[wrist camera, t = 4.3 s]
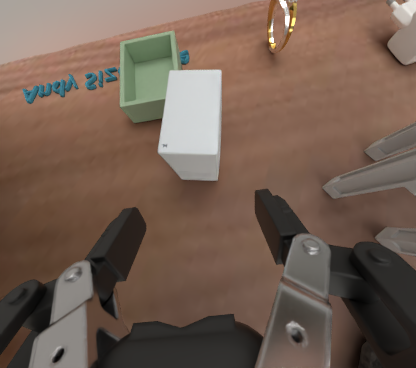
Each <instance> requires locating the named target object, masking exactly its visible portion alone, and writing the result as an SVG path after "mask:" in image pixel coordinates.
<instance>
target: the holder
mask: <svg viewBox="0 0 416 368" xmlns="http://www.w3.org/2000/svg"><path fill="white" fill-rule="evenodd" d="M170 70H182V65H181V59H180V52H179V48H178V44H177V40H176V36H175V32H174V31H169V32H164V33H160V34H155V35H150V36H146V37H141V38H136V39H132V40H127V41H123V42H120V108H121V109H122V110H123V111H124V112H125V113H126V114H127V115H128V117H129V118H130V119H131V120H132V121H133V122H134V123H139V122H145V121H150V120H156V119H161V118H163V113H164V105H165V98H166V91H167V84H168V75H169V71H170Z"/></svg>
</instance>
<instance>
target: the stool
mask: <svg viewBox="0 0 416 368" xmlns="http://www.w3.org/2000/svg"><path fill="white" fill-rule="evenodd" d="M413 147H416V122H414V123H412V124H410V125H408V126H406V127H404V128H402V129H400V130H398V131H396V132H394V133H392V134H390V135H388V136H386V137H384V138H382V139H380V140H378V141H376V142H374V143H373V144H371V145H370V146H369V147H368V148H367V149H366V150H364V152H365V153H366V154H367V155H369V156H370V157H371V158H372V159H374V160H375V161H378V160H381V159H383V158H386V157H389V156H392V155H394V154H397V153H400V152H402V151H405V150H408V149H411V148H413ZM399 187H405V188H406V189H407V190H409V191H410V192H411V193H412V194H414V195H415V196H416V149H413V150H410V151H407V152H405V153H402V154H399V155H396V156H393V157H391V158H388V159H385V160H382V161H379V162H377V163H374V164H371V165H368V166H365V167H363V168H360V169H357V170H354V171H351V172H349V173H346V174H343V175H340V176H337V177H335V178H332V179H331V180H330V181H329V182H328V183H326V184H325V185H324V186H323V187H322V188H323V189H324V190H325V191H326V192H327V193H328V194H329V195H330V196H331V197H332V198H333V199H335V198H340V197H346V196H352V195H358V194H364V193H370V192H375V191H381V190H387V189H393V188H399ZM375 239H376V240H377V241H378V242H380V243H381V244H382V245H383V246H385V247H387V248H389V249H390V250H392V251H393V252H396V253H401V254H406V255H411V256H416V229H415V228H396V227H385V228H384V229H383V230H382V231H381V232H380V233H379V234H378V235H377V236H376V237H375Z"/></svg>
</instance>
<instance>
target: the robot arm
mask: <svg viewBox="0 0 416 368" xmlns="http://www.w3.org/2000/svg"><path fill="white" fill-rule="evenodd" d="M255 214H256V217H257V220H258V222H259V225H260V227H261V229H262V232H263V234H264V236H265V239H266V241H267V243H268V246H269V248H270V251H271V253H272V255H273V258H274V260H275V262H276V265H277V264H283V265H284V267H285V268H284V271H283V275H282V278H281V280H280V283H279V286H278V289H277V293H276V296H275V300H274V303H273V307H272V310H271V313H270V317H269V320H268V324H267V327H266V331H265V334H264V337H263V336H262V335H260V334H259V333H258V332H257V331H255V330H254V329H253V328H251V327H249V326H248V325H245V324H243V323H241V322H237V321H235V319H234V314H228V315H217V316H208V317H206V318H203V319H201V320H199V321H197V322H194V323H192V324H190V325H188V326H185V327H183V328H179V327H176V326H172V325H169V324H165V323H162V322H158V321H154V322H143V323H133V326H132V329H131V333H129V330H128V328H127V327H126V325H125V323H124V321H123V317H122V312H121V308H120V303H119V299H118V294H117V290H116V288H115V285H116V282H120V281H126V279H127V276H128V274H129V271H130V269H131V266H132V264H133V261H134V259H135V257H136V254H137V252H138V249H139V247H140V244H141V242H142V240H143V237H144V235H145V232H146V223H145V221H144V219H143V217H142V215H141V214H140V212H139V210H138V208H136V207H133V208H126V209H123V210H122V212H121V213H120V215H119V216H118V217H117V218H116V219H114V220H113V221H112V222H111V223H110V224H109V226H108V227H107V228H106V230H105V232H104V233H103V234H102V235H101V237H100V238H99V240H98V241H97V243H96V244H95V245H94V247H93V248H92V250H91V251H90V252H89V254H88V255H87V257H86V258H85V260H83V261H79V262H77V263H75V264H73V265H71V266H70V267H69V268H67V269H66V270H65V271H64V272H63V273H62V274H61V275H60V277H59V278H58V279H55V280H53V281H50V282H48V283H46V284H42V283H40V282H39V281H37V280H29V281H27V282H24V283H22V284H21V285H19V286H17V287H16V288H15V289H13V290H12V291H11V292H9V293H8V294H7V295H6V296H5V297H4V298H3V299H2V300H1V301H0V355H1V354H2V352H3V351H4V350H5V348H6V347H7V345H8V344H9V343H10V341H11V340H12V339H13V337H14V336H15V335H16V333H17V332H18V330H19V329H20V328H21V326H23V327H25V328H28V329H30V330H32V331H31V332H30V334H29V335H28V337H27V338H26V340H25V341H24V343H23V344H22V346H21V347H20V349H19V350H18V352H17V353H16V354H15V356H14V357H13V359H12V360H11V362H10V363H9V365H8V366H7V368H330V353H331V330H332V306H331V304H330V303H329V301H328V294H331V295H335V296H339V297H341V298H342V300H343V302H344V303H345V305H346V307H347V308H348V310H349V312H350V313H351V315H352V316H353V318H354V320H355V321H356V323H357V325H358V326H359V328H360V330H361V331H362V333H363V335H364V336H365V338H366V339H367V341H368V343H369V344H370V346H371V348H372V349H373V351H374V353H375V354H376V356H377V357H378V359H379V361H380V362H381V364H382V366H383V367H384V368H416V271H415V270H414V269H413V268H412V267H411V266H410V265H409V264H408V263H407V262H405V261H404V260H403V259H402V258H401V257H400V256H399V255H397V254H396V253H395V252H393V251H392V250H390V249H389V248H387V247H385V246H382V245H380V244H377V243H373V242H359V243H357V244H356V245H355V246H354V248H346V247H339V246H333V245H329V244H327V243H326V242H325V241H323V240H322V239H321V238H319V237H317V236H315V235H312V234H310V233H309V232H308V231H307V229H306V228H305V227H304V225H303V224H302V223H301V221H300V220H299V218H298V217H297V216H296V214H295V213H294V212H293V210H292V209H291V208H290V207H289V205H288V204H287V202H286V201H285V200H284V199H282V198H281V197H279V196H278V195H276V196H272V194H271V193H270V191H269V190H268V189H262V190H256V191H255Z"/></svg>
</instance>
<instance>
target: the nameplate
mask: <svg viewBox="0 0 416 368" xmlns="http://www.w3.org/2000/svg"><path fill="white" fill-rule="evenodd" d="M188 54H189V53H188V50H184V51H182V52H180V59H181V64H186V63H188V62H189V55H188ZM115 71H117V69H116V68H115V67H113V68H109V69H105V73H107V74H108V75H109V76H111V77H108V78H105V80H106V82H110V81H114V80H117V78H116V77H115V76H114V75H113V74H111V72H115ZM118 73H119V75H120V67H119V69H118ZM68 75H69V77H70V78H69V80H68V82H67V85H66V87H65V81H64V80H61V82H59V81H55V82H53V84H52V85H51V84H50V83H47V86H46V91H45V92H44V86H43V85H39V86H34V88H33V90H31V91H27V90H26V89H23V92H24V95H25V98H26V101H27V102H28V103H30V104H31V103H33V101H34V99H35V97H36V95H37V93H38V95H39V96H40V97H43V96H44V95H46V96H49V95H50V94H51V88H52V89H53V91H54V92H55V93H60V96H61V97H65V90H66V91H70V89H71V87H72V84H73V85H74V87H75V88H76V89H78V86H77V84H76V82H75V80H74V78H73V76H72V75H71V74H68ZM85 76H86V78H87V79H88V78H90V77H92V78H90V79H89V80H88V81H87V82H86V83H85V85H86V87H87V89H90V90H93V89H96V85H94V84H93V83H94V82H95V81H96V80H97V77H96V75H95V74H94V73H87V74H85ZM102 83H103V73H102V71H99V86H100V87H103V85H102ZM91 84H93V85H91ZM59 85H60V88H59V89H57V88H58V86H59ZM38 91H39V92H38Z"/></svg>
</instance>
